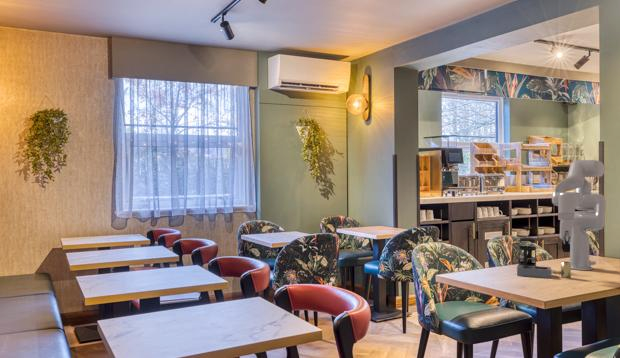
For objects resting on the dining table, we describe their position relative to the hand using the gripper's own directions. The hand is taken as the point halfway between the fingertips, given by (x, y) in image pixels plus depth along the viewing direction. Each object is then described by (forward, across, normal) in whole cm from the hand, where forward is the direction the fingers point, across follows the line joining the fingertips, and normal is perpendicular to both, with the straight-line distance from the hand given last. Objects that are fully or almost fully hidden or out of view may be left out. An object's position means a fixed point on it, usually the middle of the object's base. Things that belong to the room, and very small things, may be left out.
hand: (565, 250), depth 261 cm
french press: (+14, -21, -18) cm, 31 cm away
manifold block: (+14, -2, -15) cm, 20 cm away
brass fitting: (+14, -1, 0) cm, 14 cm away
